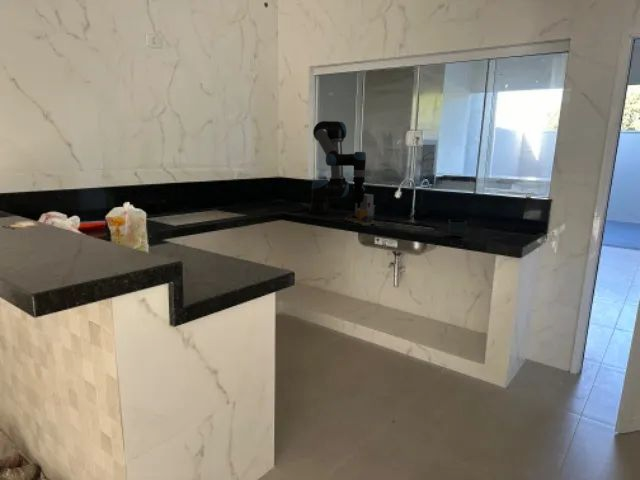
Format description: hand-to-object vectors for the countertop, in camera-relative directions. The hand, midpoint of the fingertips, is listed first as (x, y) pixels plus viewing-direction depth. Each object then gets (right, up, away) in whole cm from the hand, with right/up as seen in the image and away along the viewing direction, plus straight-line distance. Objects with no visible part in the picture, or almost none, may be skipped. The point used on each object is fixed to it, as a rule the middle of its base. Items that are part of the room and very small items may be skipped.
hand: (357, 212), depth 294 cm
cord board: (+2, -6, -3) cm, 7 cm away
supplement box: (+6, -1, +21) cm, 22 cm away
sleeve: (+3, -5, -3) cm, 6 cm away
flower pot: (+53, -16, -38) cm, 67 cm away
